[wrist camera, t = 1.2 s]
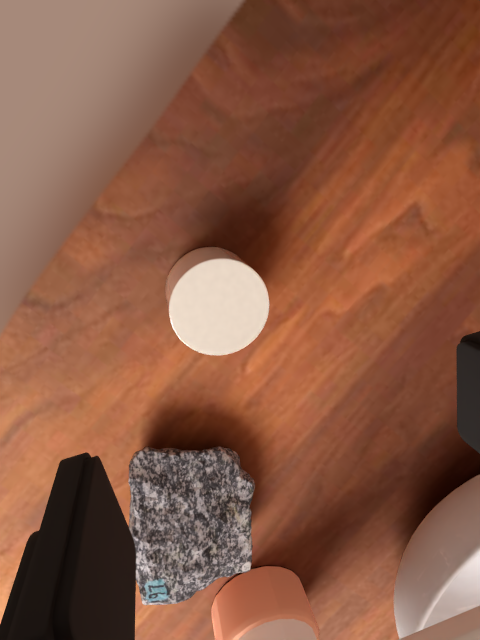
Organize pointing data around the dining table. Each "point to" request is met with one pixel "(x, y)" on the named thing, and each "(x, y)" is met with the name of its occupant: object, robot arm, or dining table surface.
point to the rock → (188, 520)
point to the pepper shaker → (264, 607)
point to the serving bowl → (441, 563)
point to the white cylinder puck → (216, 301)
